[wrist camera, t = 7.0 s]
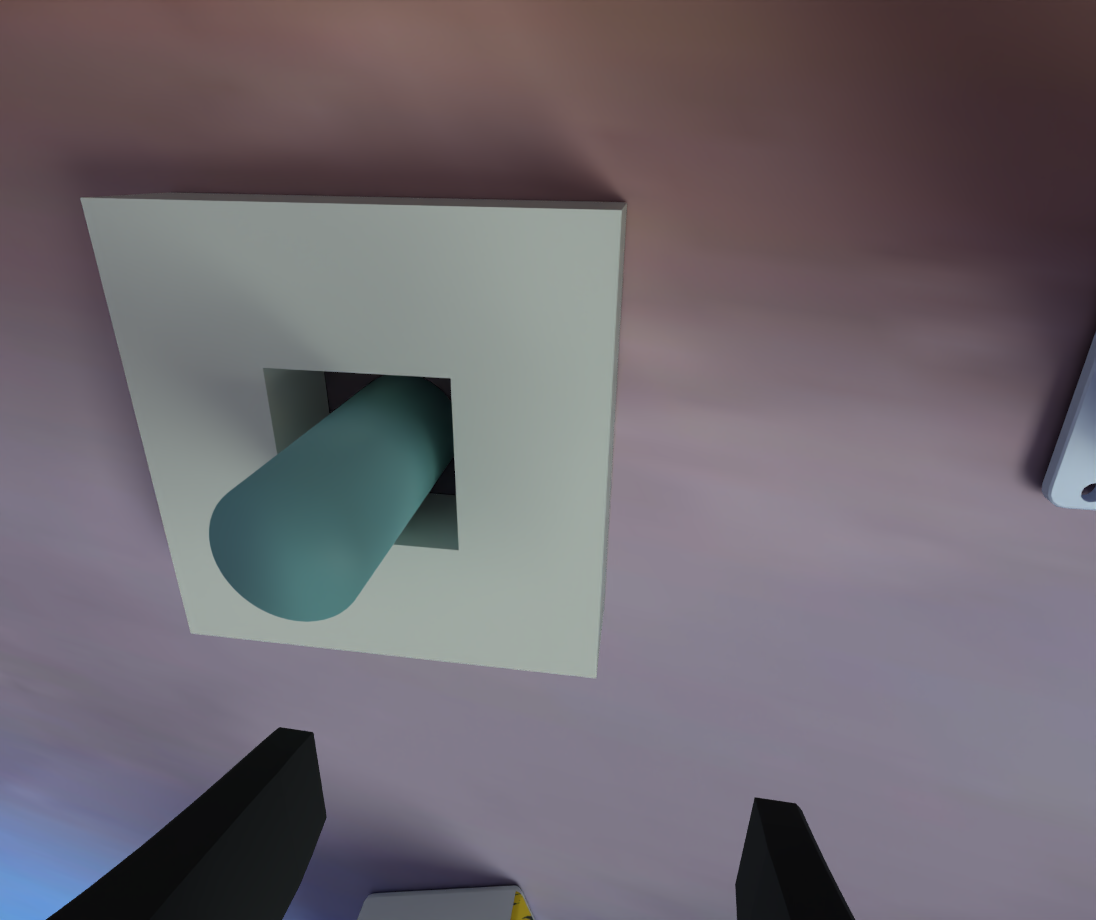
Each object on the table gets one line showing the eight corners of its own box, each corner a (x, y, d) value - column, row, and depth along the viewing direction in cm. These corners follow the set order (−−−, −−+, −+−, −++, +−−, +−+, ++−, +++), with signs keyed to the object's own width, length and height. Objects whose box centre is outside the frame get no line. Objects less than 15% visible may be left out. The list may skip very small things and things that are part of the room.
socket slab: (627, 202, 16) (622, 210, 13) (603, 611, 21) (596, 678, 18) (168, 192, 18) (80, 197, 15) (246, 576, 22) (190, 633, 20)
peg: (465, 385, 19) (368, 499, 12) (455, 485, 20) (362, 636, 14) (355, 363, 19) (203, 464, 12) (352, 464, 20) (213, 603, 14)
